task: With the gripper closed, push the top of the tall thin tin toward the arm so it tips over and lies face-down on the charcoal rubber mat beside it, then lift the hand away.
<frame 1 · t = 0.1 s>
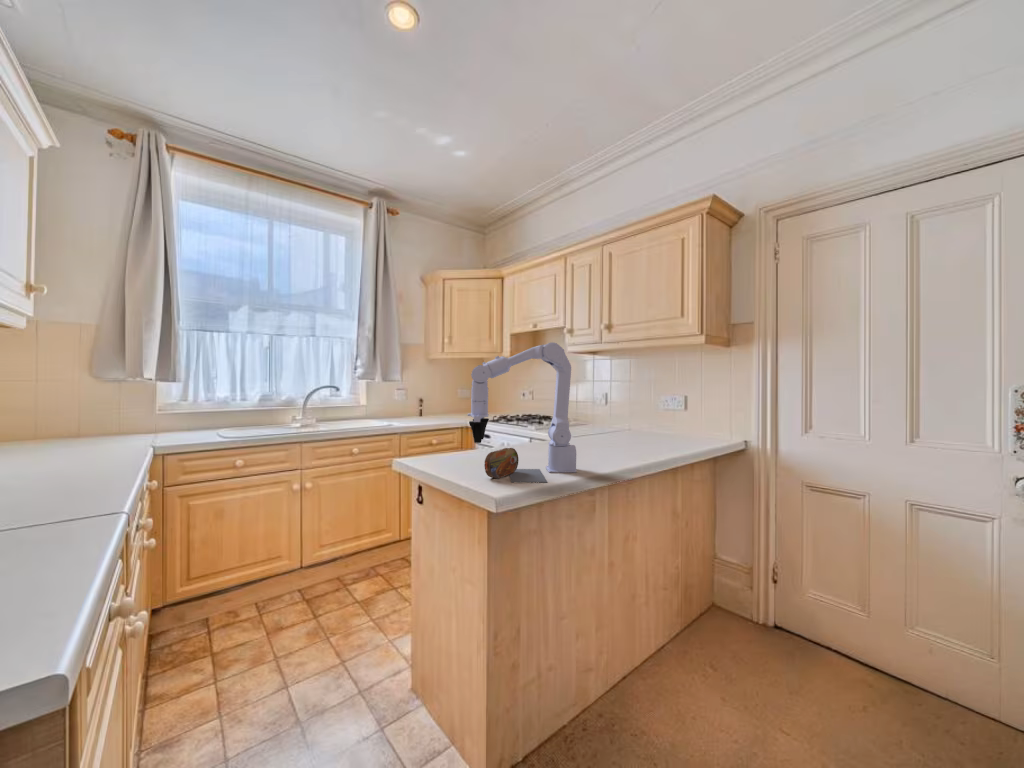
hand: (479, 440, 140), 10 cm above the countertop, tool pointing down, fingers open, 7 cm apart
tin: (502, 475, 134), on the countertop, touching mat
mat: (526, 475, 134), on the countertop
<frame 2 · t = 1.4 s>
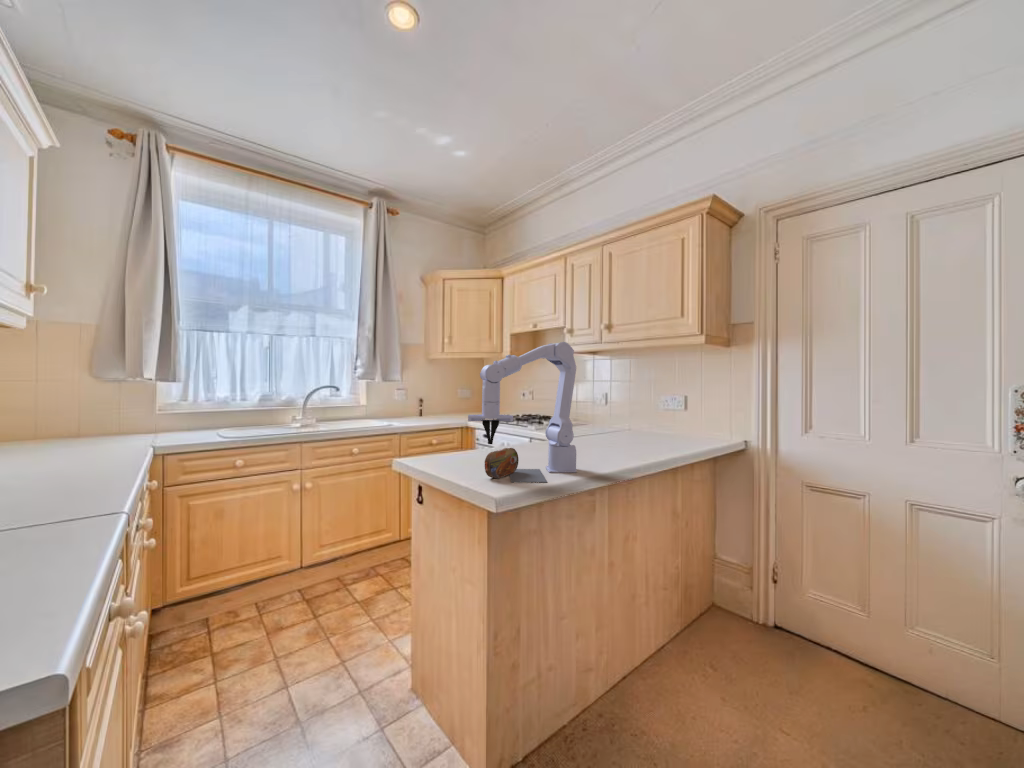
hand: (490, 443, 133), 10 cm above the countertop, tool pointing down, fingers closed
nothing on the countertop moved.
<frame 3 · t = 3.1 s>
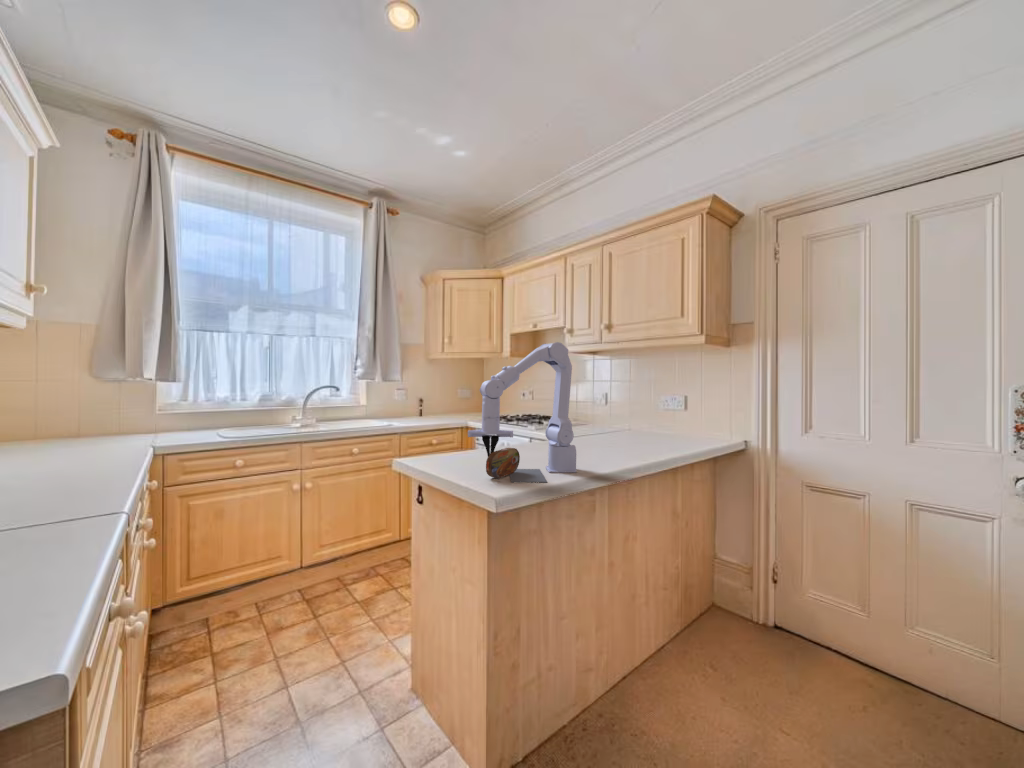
hand: (490, 459, 133), 5 cm above the countertop, tool pointing down, fingers closed
tin: (502, 475, 134), on the countertop, touching gripper, mat
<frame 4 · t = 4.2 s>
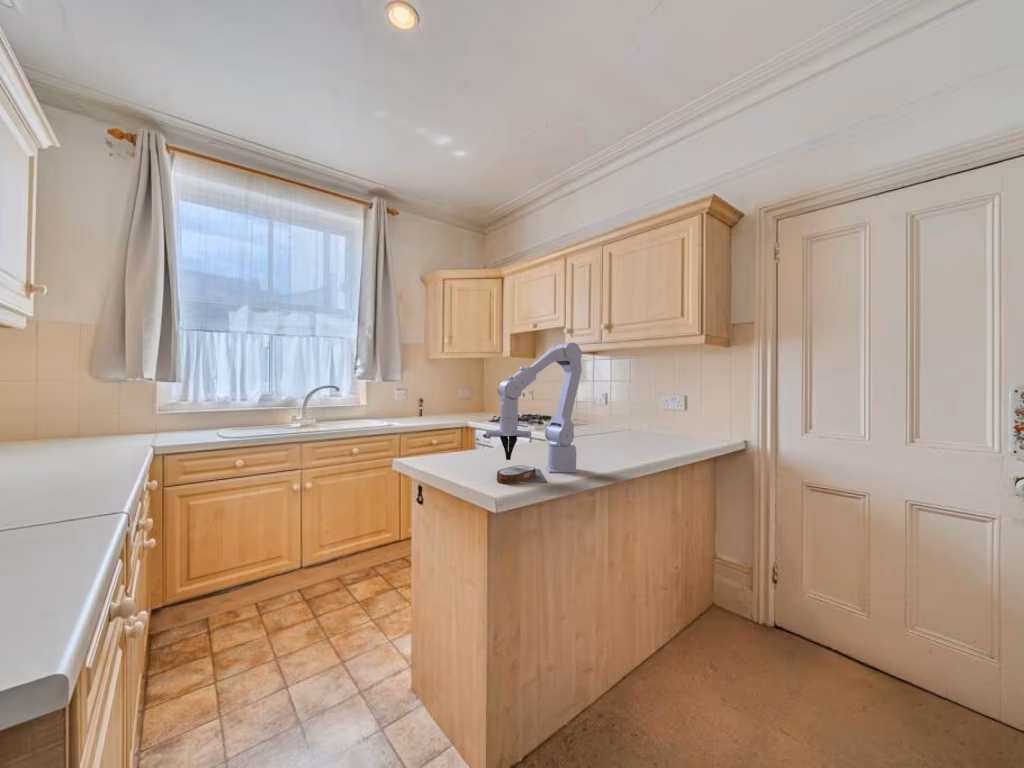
hand: (508, 459, 134), 5 cm above the countertop, tool pointing down, fingers closed
tin: (505, 470, 133), point 2 cm above the countertop, touching mat
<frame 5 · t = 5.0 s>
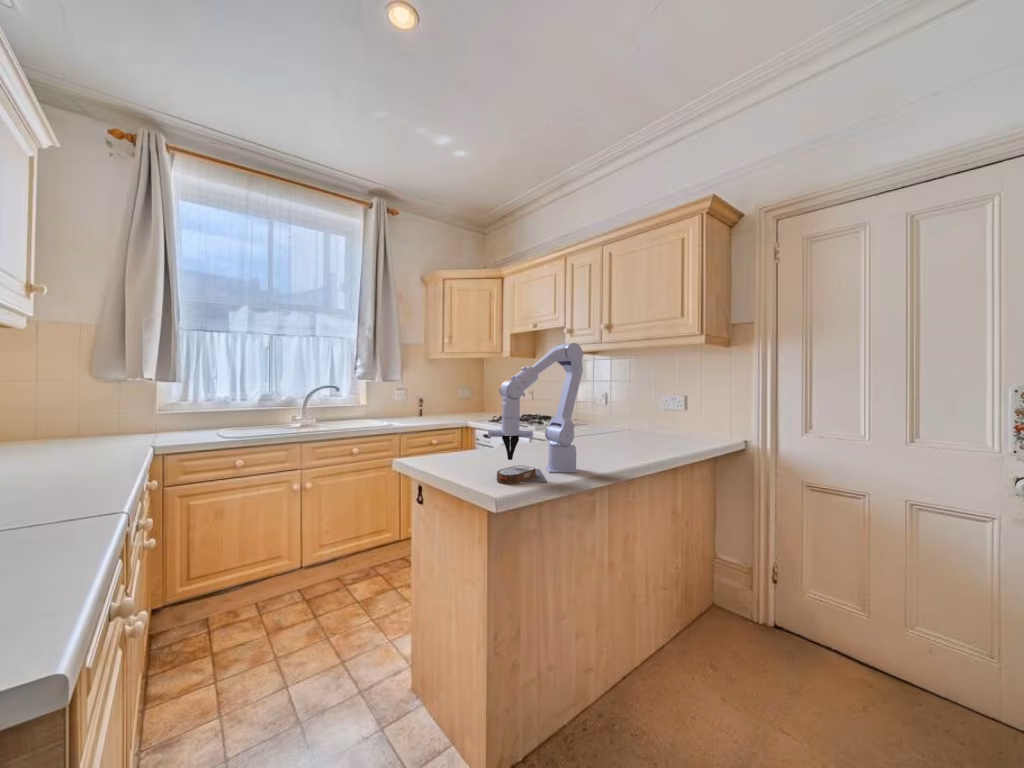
hand: (510, 459, 134), 5 cm above the countertop, tool pointing down, fingers closed
nothing on the countertop moved.
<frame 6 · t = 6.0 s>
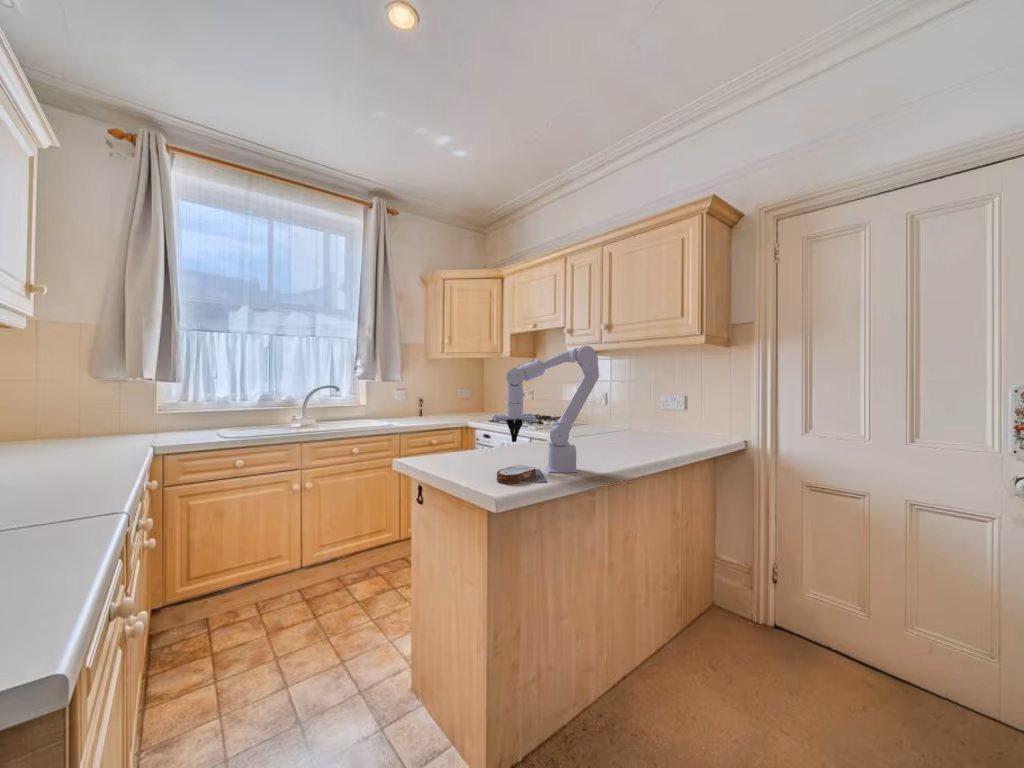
hand: (514, 441, 144), 9 cm above the countertop, tool pointing down, fingers closed
nothing on the countertop moved.
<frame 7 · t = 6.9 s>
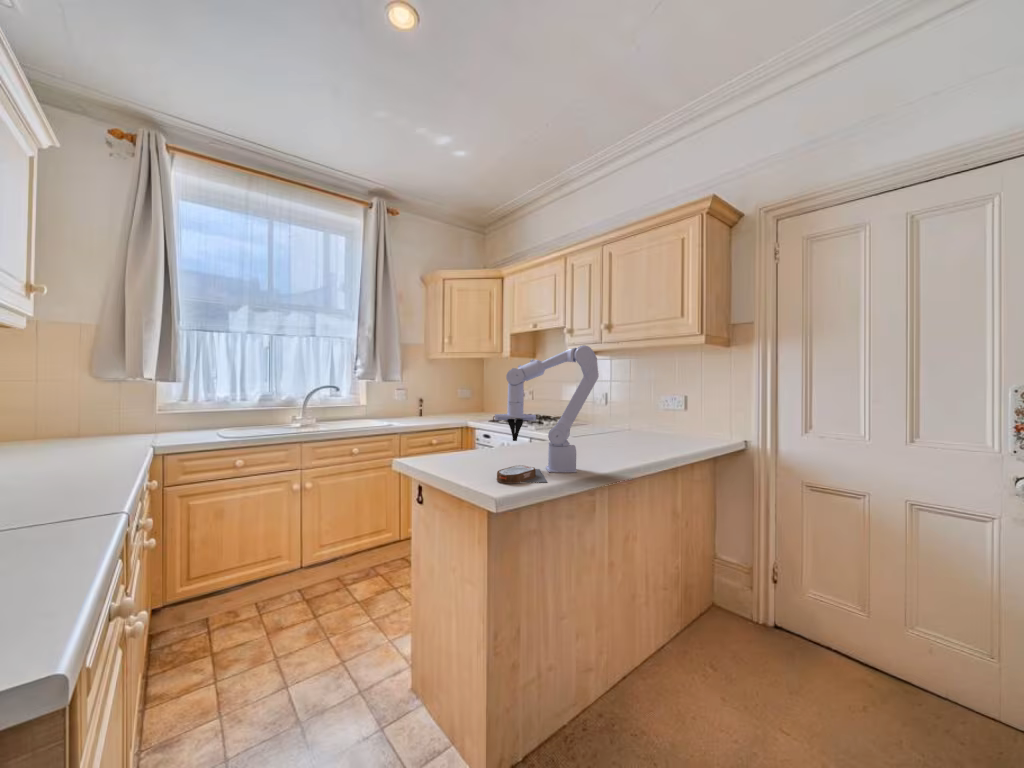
hand: (514, 440, 147), 9 cm above the countertop, tool pointing down, fingers closed
nothing on the countertop moved.
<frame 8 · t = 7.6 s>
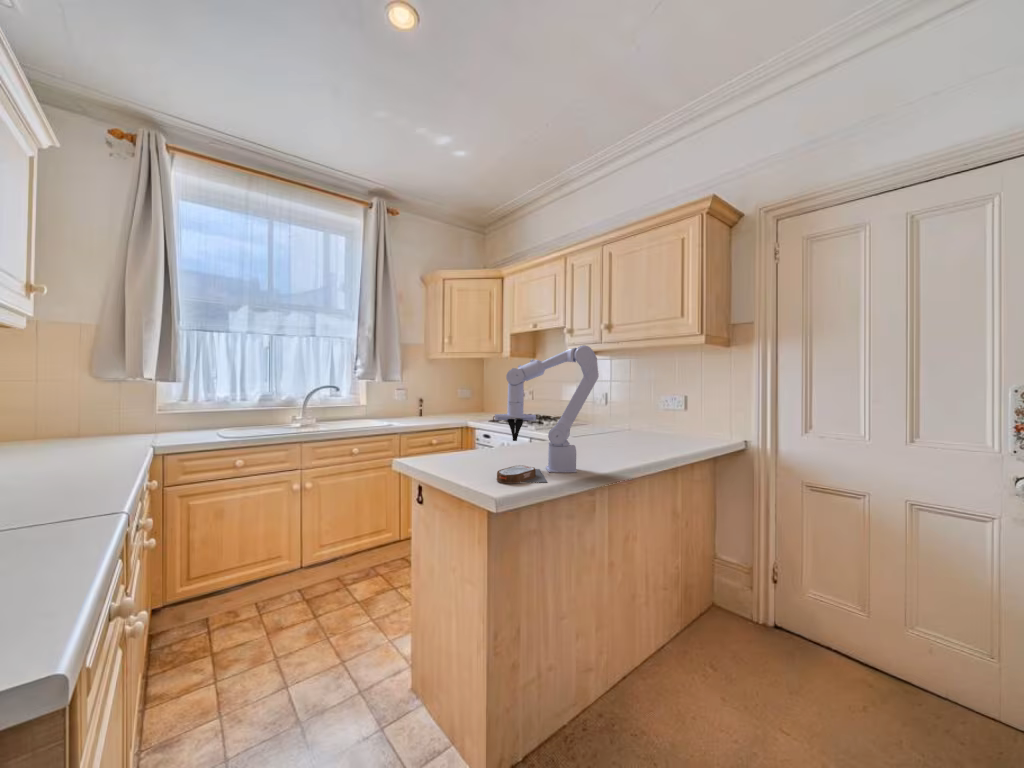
hand: (514, 440, 147), 9 cm above the countertop, tool pointing down, fingers closed
nothing on the countertop moved.
at the end: tin tilted 94°; tin touching mat; tin inside the target area (1.7 cm from its centre), point 1.9 cm above the countertop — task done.
